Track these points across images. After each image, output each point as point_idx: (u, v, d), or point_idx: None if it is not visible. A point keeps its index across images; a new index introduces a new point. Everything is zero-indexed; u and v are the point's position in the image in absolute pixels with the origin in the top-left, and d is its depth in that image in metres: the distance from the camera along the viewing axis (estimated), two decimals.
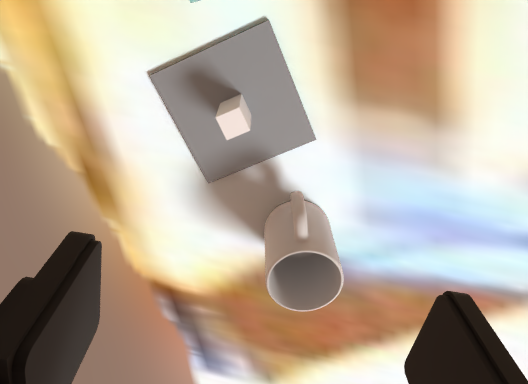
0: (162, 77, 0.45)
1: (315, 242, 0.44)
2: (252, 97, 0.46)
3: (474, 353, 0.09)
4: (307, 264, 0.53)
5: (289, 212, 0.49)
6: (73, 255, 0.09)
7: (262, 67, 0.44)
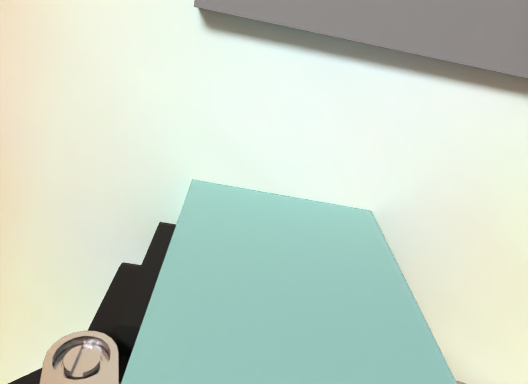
0: None
1: None
2: None
3: None
4: None
5: None
6: (168, 242, 0.10)
7: None
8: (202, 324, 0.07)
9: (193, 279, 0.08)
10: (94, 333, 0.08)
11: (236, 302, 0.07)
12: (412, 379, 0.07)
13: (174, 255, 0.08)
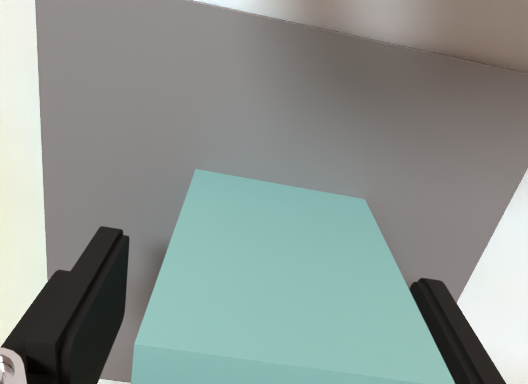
0: None
1: None
2: None
3: (443, 335, 0.10)
4: None
5: None
6: (105, 248, 0.10)
7: None
8: (207, 294, 0.07)
9: (198, 256, 0.08)
10: (0, 350, 0.07)
11: (238, 276, 0.08)
12: (397, 343, 0.07)
13: (180, 235, 0.09)
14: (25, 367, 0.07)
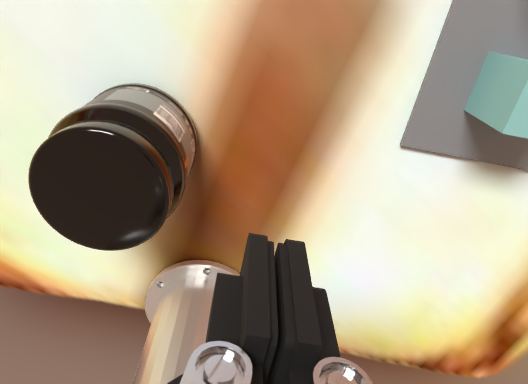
0: None
1: None
2: None
3: (281, 288, 0.10)
4: None
5: None
6: (264, 253, 0.11)
7: (442, 109, 0.37)
8: None
9: (524, 60, 0.31)
10: (224, 343, 0.08)
11: None
12: None
13: (513, 58, 0.32)
14: None
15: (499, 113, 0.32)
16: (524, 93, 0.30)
